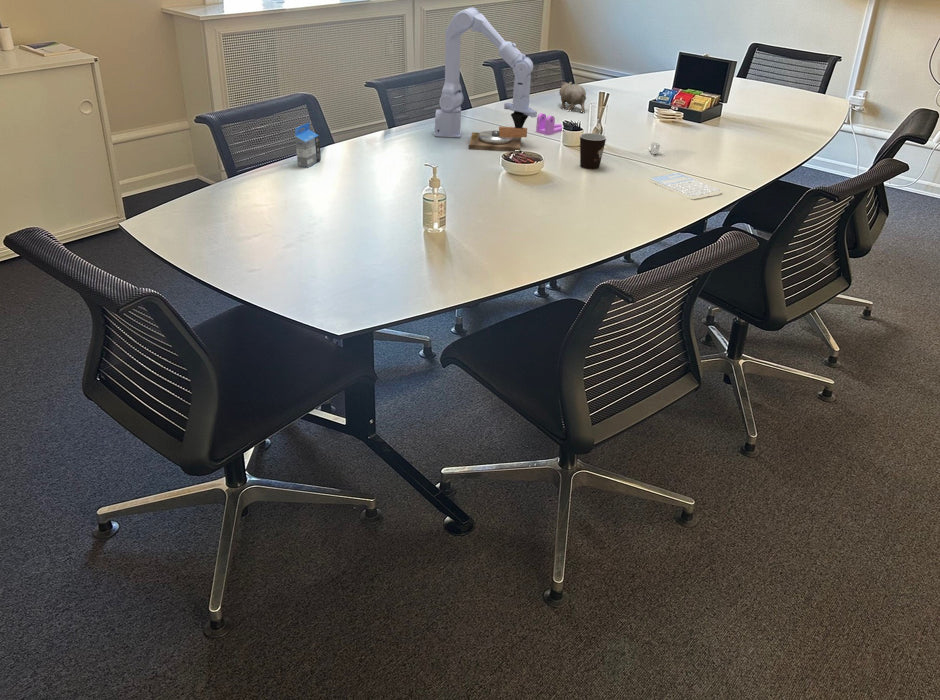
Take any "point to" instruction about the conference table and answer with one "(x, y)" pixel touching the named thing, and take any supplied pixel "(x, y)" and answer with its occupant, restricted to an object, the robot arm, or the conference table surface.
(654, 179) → the calculator
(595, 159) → the coffee mug
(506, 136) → the dial
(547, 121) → the bracket
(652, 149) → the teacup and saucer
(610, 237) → the conference table surface
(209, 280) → the conference table surface
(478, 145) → the stand
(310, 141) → the label tape box
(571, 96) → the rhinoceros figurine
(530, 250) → the conference table surface
